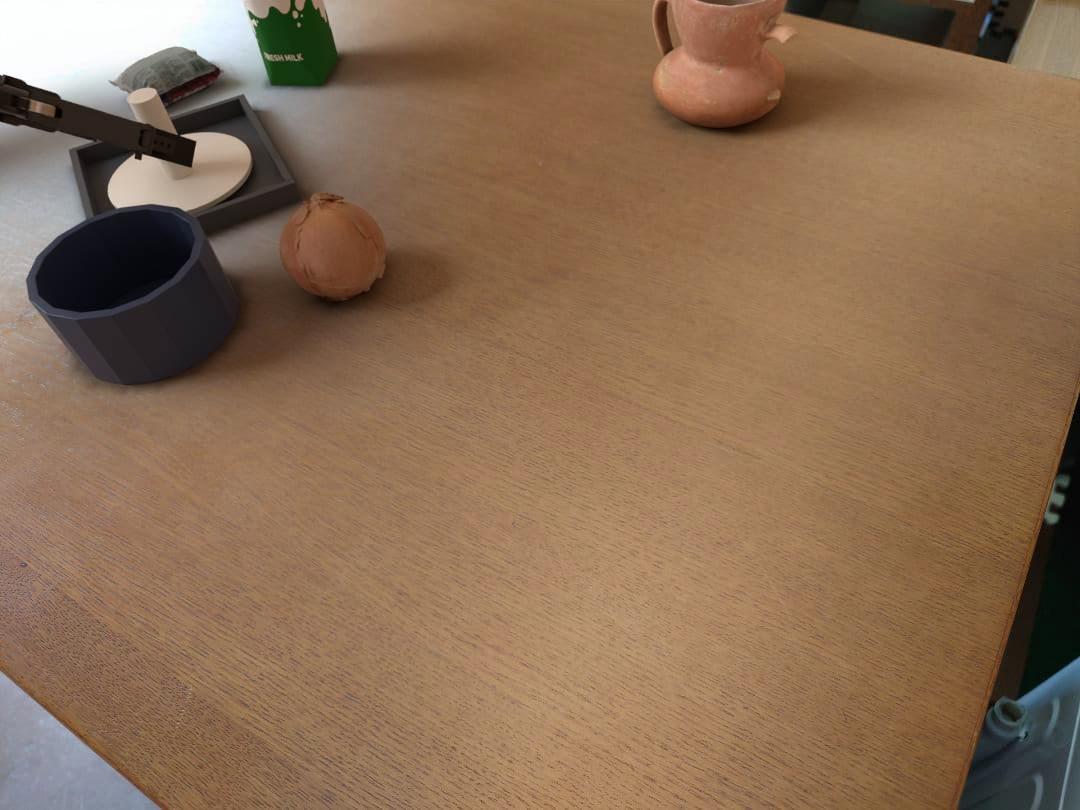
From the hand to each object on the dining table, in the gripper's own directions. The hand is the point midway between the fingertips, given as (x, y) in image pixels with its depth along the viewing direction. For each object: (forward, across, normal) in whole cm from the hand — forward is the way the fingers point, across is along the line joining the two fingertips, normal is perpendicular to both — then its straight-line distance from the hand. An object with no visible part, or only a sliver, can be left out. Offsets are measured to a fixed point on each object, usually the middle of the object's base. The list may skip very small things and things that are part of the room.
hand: (142, 141), depth 81 cm
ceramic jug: (+31, -50, -21) cm, 62 cm away
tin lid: (+6, 0, +2) cm, 6 cm away
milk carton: (+24, +2, -14) cm, 28 cm away
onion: (+2, -27, +8) cm, 28 cm away
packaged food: (+17, +16, -7) cm, 25 cm away
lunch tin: (-7, -14, +16) cm, 22 cm away
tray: (+6, 0, +3) cm, 7 cm away
